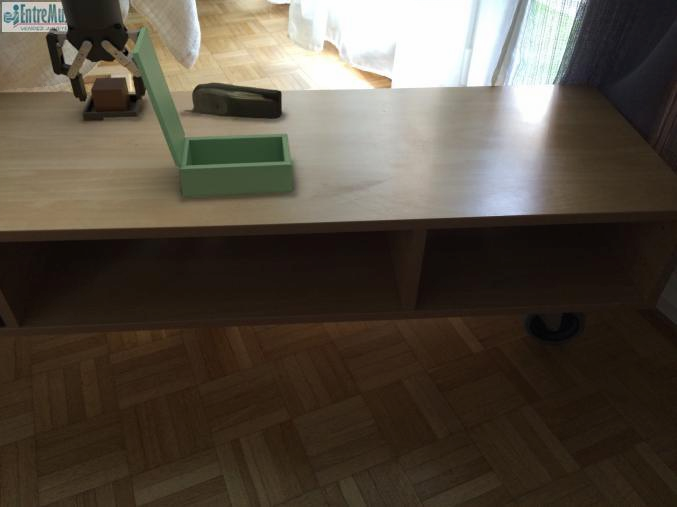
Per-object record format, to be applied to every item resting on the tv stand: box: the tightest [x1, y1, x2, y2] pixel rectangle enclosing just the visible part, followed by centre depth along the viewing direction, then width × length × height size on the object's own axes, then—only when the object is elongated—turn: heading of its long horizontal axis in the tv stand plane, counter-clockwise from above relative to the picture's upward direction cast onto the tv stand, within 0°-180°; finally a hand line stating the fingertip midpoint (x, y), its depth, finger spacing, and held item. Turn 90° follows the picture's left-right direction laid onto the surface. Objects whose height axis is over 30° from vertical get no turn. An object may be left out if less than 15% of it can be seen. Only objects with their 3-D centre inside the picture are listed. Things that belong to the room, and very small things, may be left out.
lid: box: [132, 26, 186, 167], centre depth 72 cm, size 14×8×1 cm
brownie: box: [90, 76, 131, 112], centre depth 93 cm, size 4×4×4 cm
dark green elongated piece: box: [184, 82, 283, 120], centre depth 94 cm, size 5×3×15 cm
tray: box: [82, 93, 144, 122], centre depth 95 cm, size 8×6×2 cm
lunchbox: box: [178, 133, 293, 198], centre depth 79 cm, size 14×8×5 cm, turn 97°
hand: (111, 98), depth 94 cm, fingers open, 8 cm apart
